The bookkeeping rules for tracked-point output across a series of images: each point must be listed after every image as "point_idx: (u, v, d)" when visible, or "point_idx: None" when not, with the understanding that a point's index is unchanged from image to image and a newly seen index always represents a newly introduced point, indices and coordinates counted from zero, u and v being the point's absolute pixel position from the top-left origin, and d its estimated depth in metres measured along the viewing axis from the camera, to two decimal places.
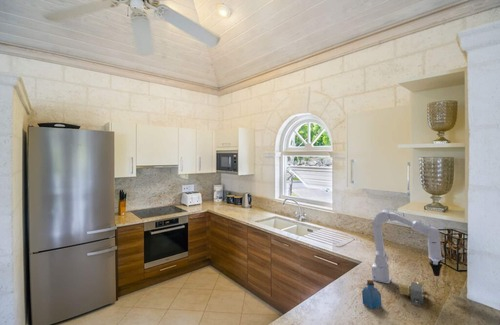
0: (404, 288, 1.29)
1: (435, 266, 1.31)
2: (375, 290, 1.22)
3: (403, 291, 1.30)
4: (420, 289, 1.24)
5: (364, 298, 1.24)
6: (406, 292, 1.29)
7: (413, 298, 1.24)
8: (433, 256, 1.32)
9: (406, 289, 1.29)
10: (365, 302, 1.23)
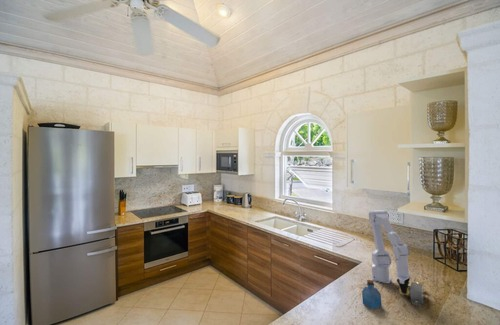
0: None
1: (402, 283, 1.29)
2: (375, 290, 1.22)
3: None
4: (420, 289, 1.24)
5: (364, 298, 1.24)
6: None
7: (413, 298, 1.24)
8: (400, 274, 1.29)
9: None
10: (365, 302, 1.23)
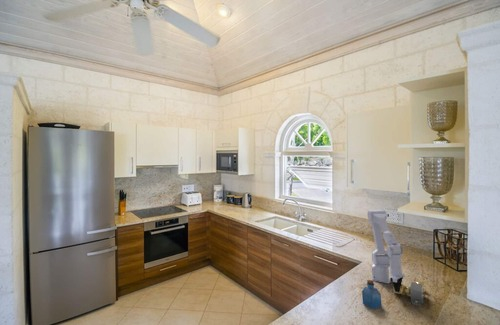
0: None
1: (396, 282, 1.31)
2: (375, 290, 1.22)
3: None
4: (420, 289, 1.24)
5: (364, 298, 1.24)
6: None
7: (413, 298, 1.24)
8: (394, 273, 1.31)
9: None
10: (365, 302, 1.23)
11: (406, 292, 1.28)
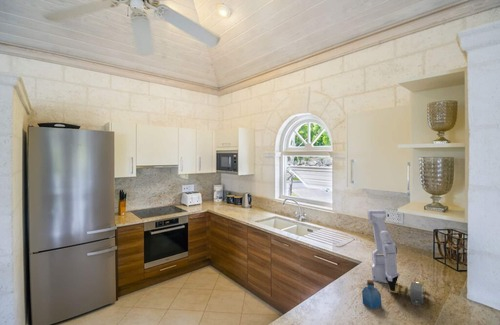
0: None
1: (391, 281, 1.32)
2: (375, 290, 1.22)
3: None
4: (420, 289, 1.24)
5: (364, 298, 1.24)
6: (395, 290, 1.32)
7: (413, 298, 1.24)
8: (389, 272, 1.33)
9: (395, 287, 1.32)
10: (365, 302, 1.23)
11: (401, 291, 1.30)
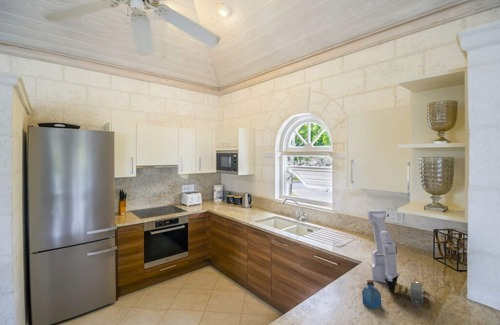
0: None
1: (390, 282, 1.31)
2: (375, 290, 1.22)
3: None
4: (420, 289, 1.24)
5: (364, 298, 1.24)
6: (395, 290, 1.32)
7: (413, 298, 1.24)
8: (389, 272, 1.33)
9: (395, 287, 1.32)
10: (365, 302, 1.23)
11: (401, 291, 1.30)
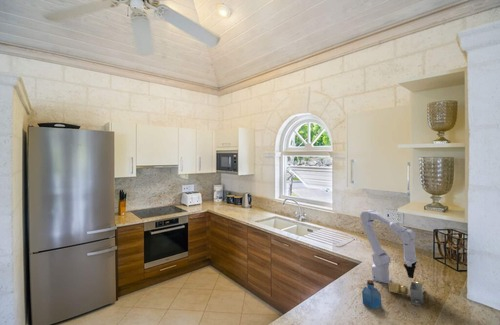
0: (393, 286, 1.32)
1: (409, 268, 1.32)
2: (375, 290, 1.22)
3: (392, 289, 1.33)
4: (420, 289, 1.24)
5: (364, 298, 1.24)
6: (395, 290, 1.32)
7: (413, 298, 1.24)
8: (408, 258, 1.34)
9: (395, 287, 1.32)
10: (365, 302, 1.23)
11: (401, 291, 1.30)
